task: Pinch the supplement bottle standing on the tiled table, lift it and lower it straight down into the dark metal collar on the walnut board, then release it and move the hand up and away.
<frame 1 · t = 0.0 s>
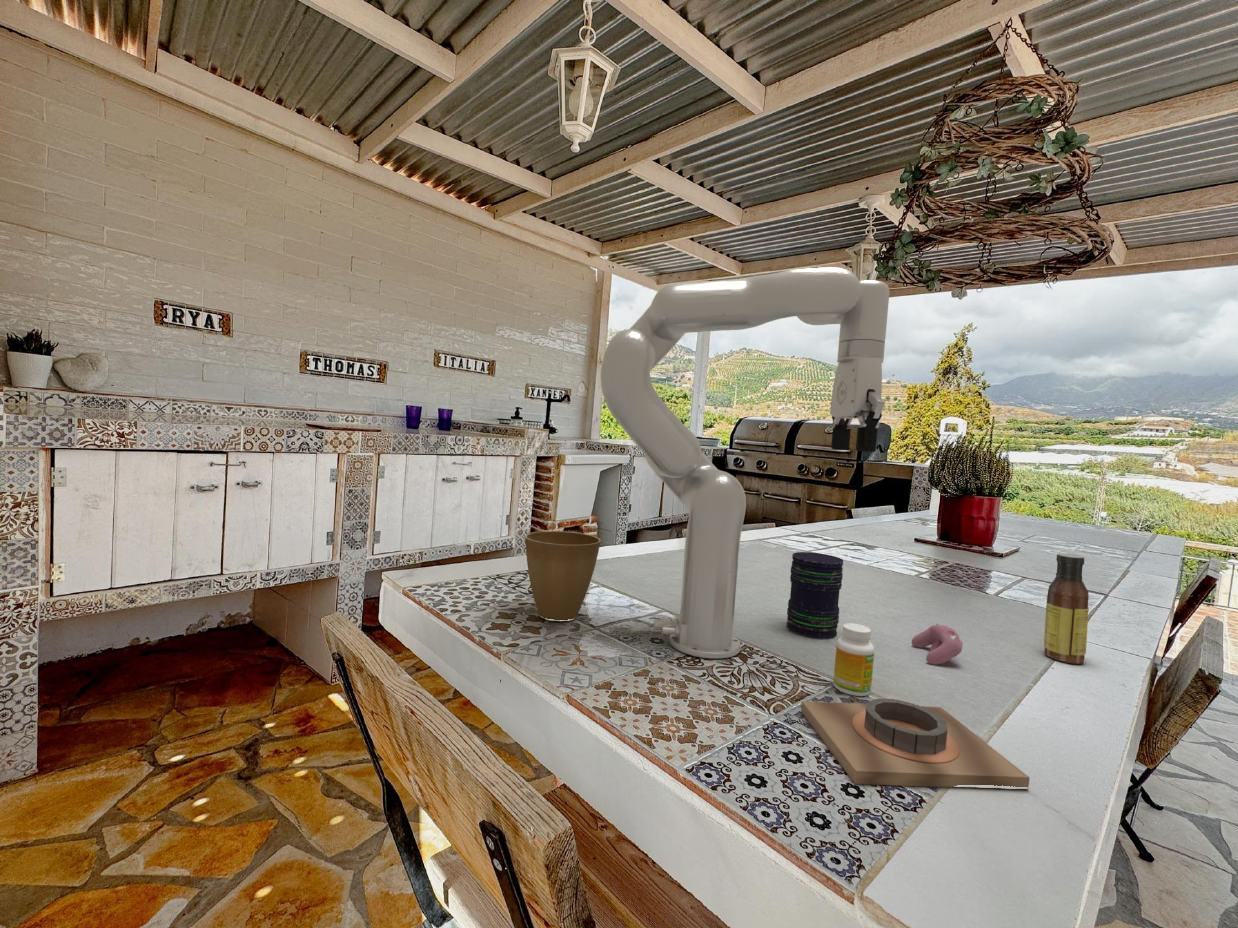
hand: (852, 450, 99), 37 cm above the table, tool pointing down, fingers open, 9 cm apart
plant pot: (558, 617, 111), on the table
supplement bottle: (851, 690, 86), on the table
socket board: (902, 746, 70), on the table
storage jar: (811, 631, 112), on the table
sauce bottle: (1062, 659, 105), on the table
video game controller: (935, 658, 102), on the table
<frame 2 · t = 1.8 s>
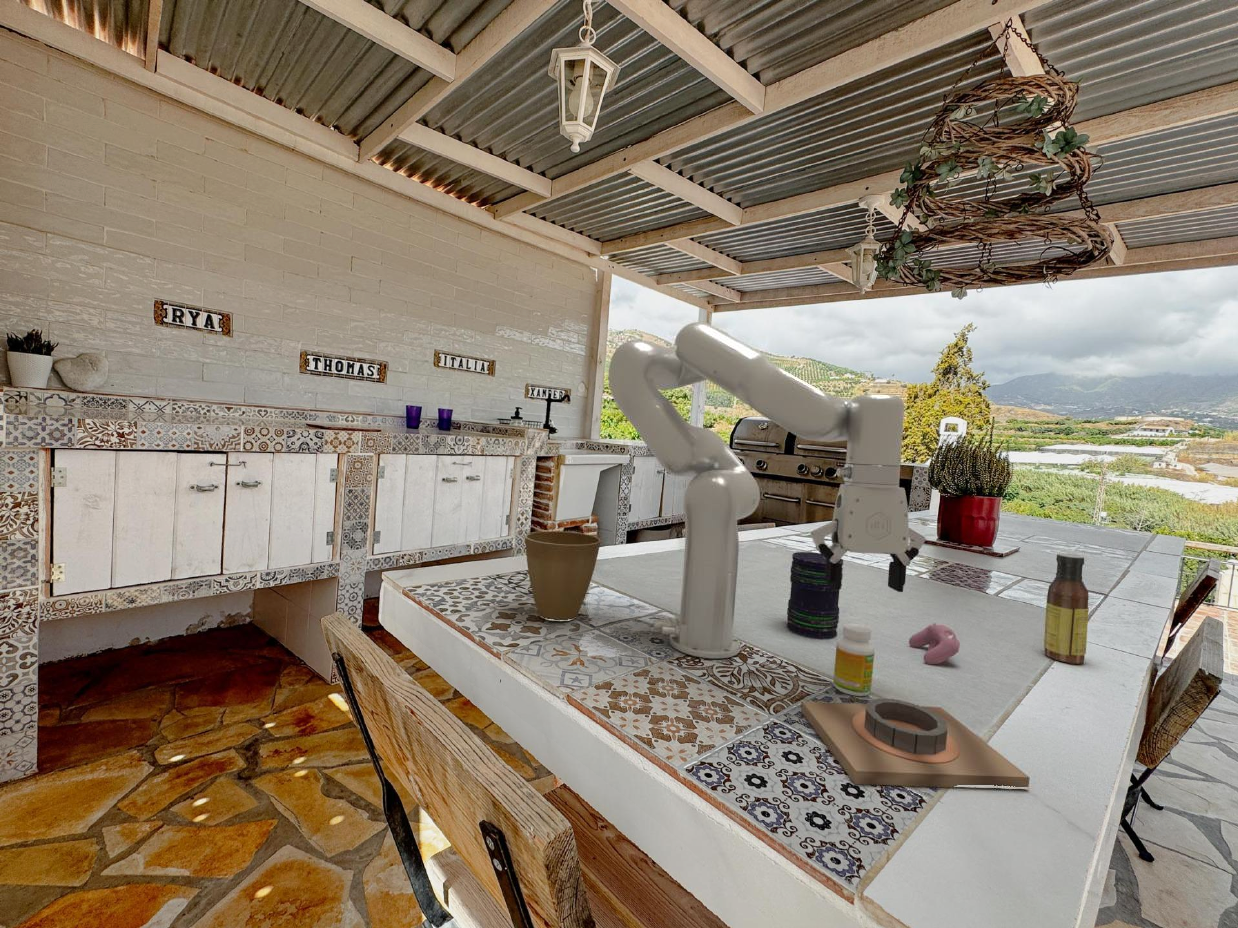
hand: (864, 588, 85), 16 cm above the table, tool pointing down, fingers open, 9 cm apart
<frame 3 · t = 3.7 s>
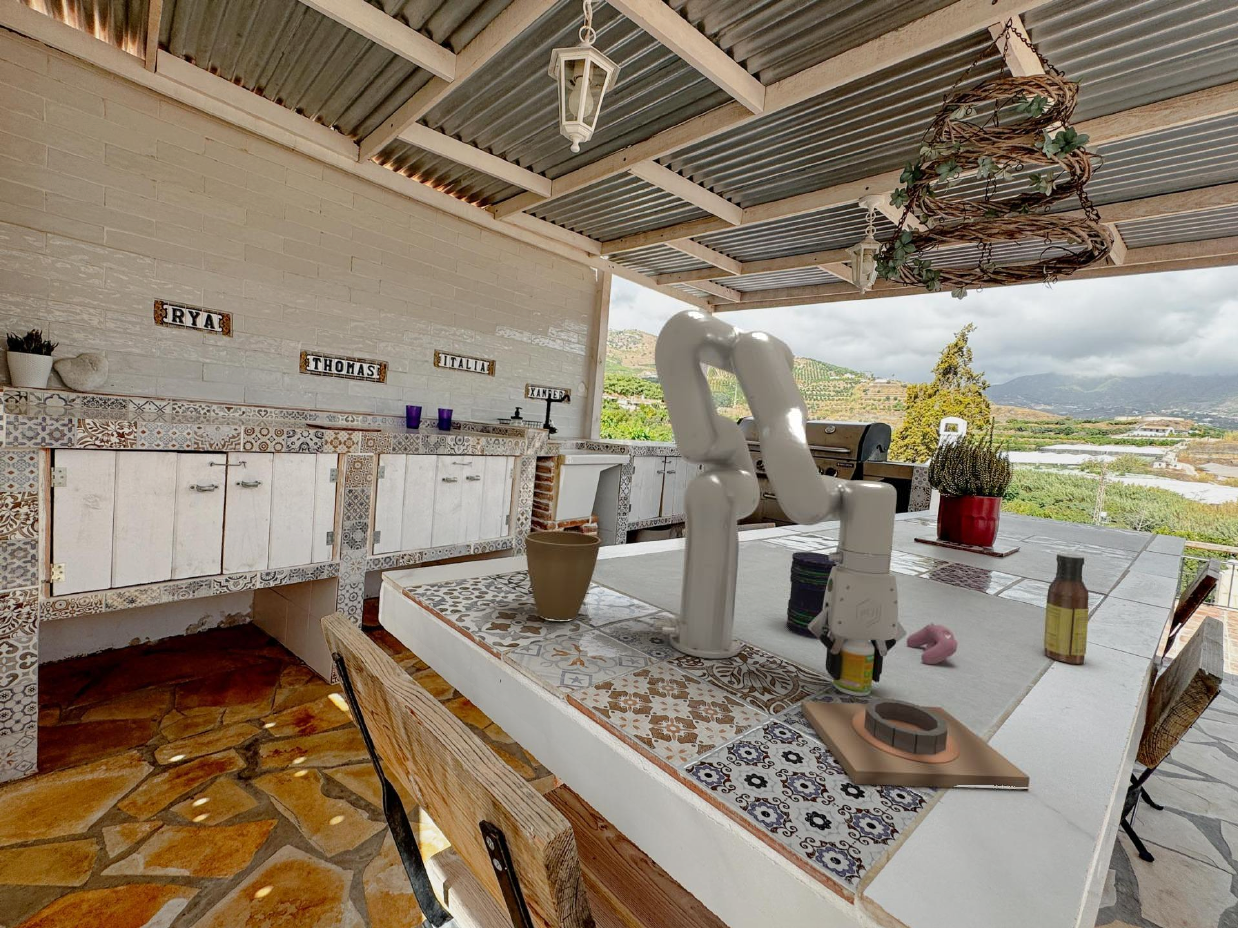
hand: (852, 676, 86), 2 cm above the table, tool pointing down, fingers closed on supplement bottle, 5 cm apart
supplement bottle: (851, 690, 86), on the table, touching gripper
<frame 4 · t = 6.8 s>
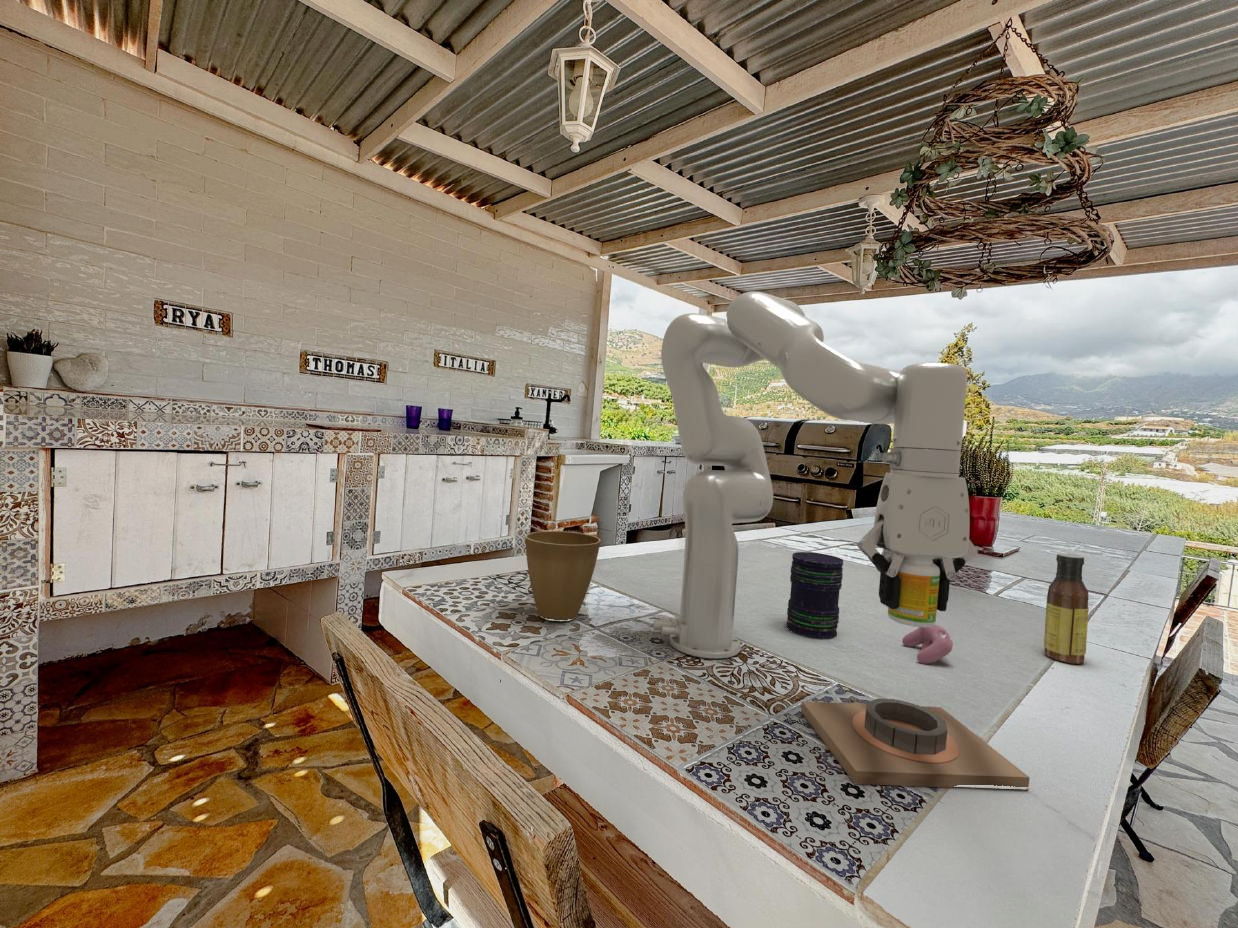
hand: (912, 605, 70), 18 cm above the table, tool pointing down, fingers closed on supplement bottle, 5 cm apart
supplement bottle: (910, 622, 70), point 16 cm above the table, touching gripper
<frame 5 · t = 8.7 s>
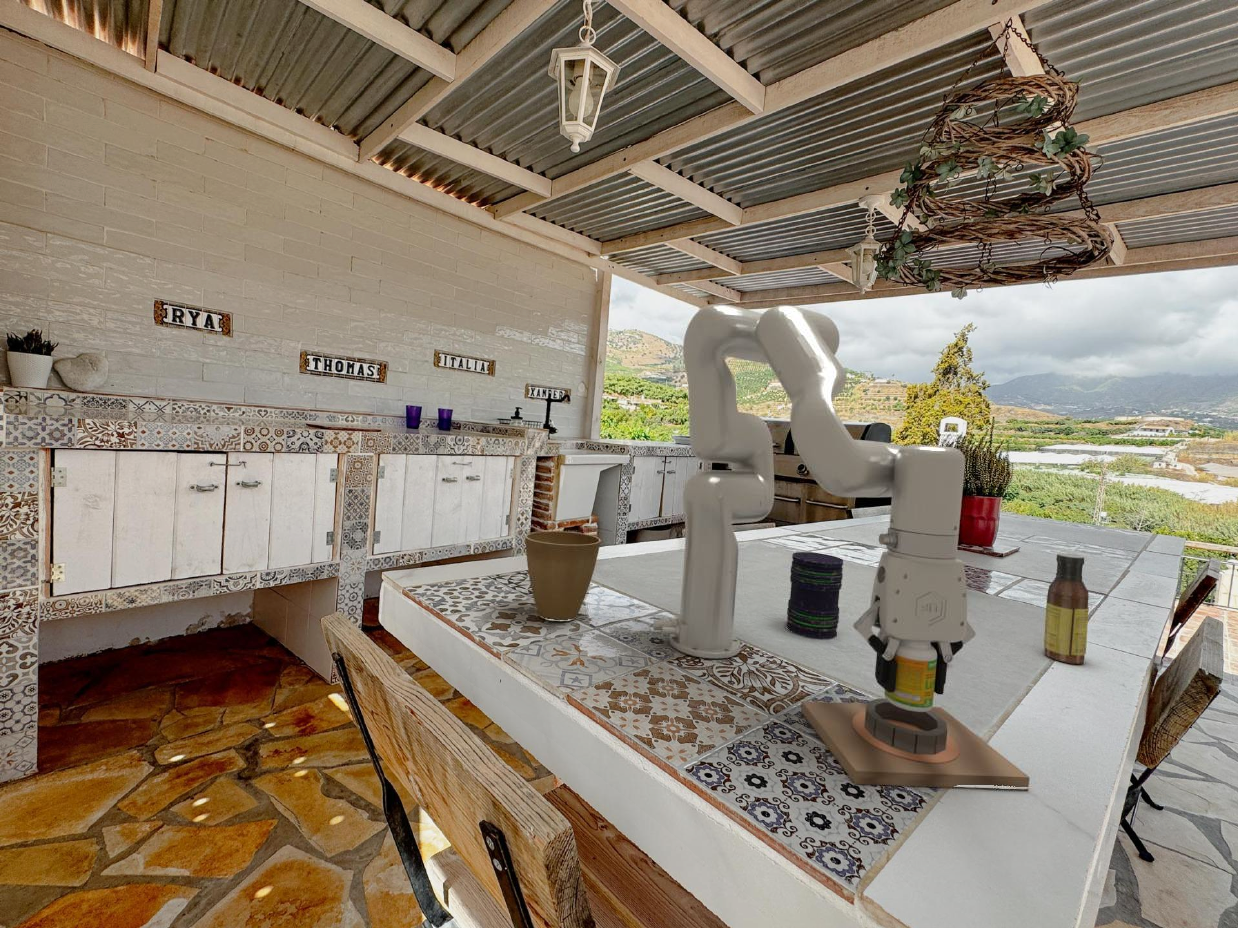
hand: (909, 686, 70), 8 cm above the table, tool pointing down, fingers closed on supplement bottle, 5 cm apart
supplement bottle: (907, 704, 70), point 6 cm above the table, touching gripper
when the fingers open (5 cm above the table, at t = 10.1 s): supplement bottle drops 1 cm, resting on socket board.
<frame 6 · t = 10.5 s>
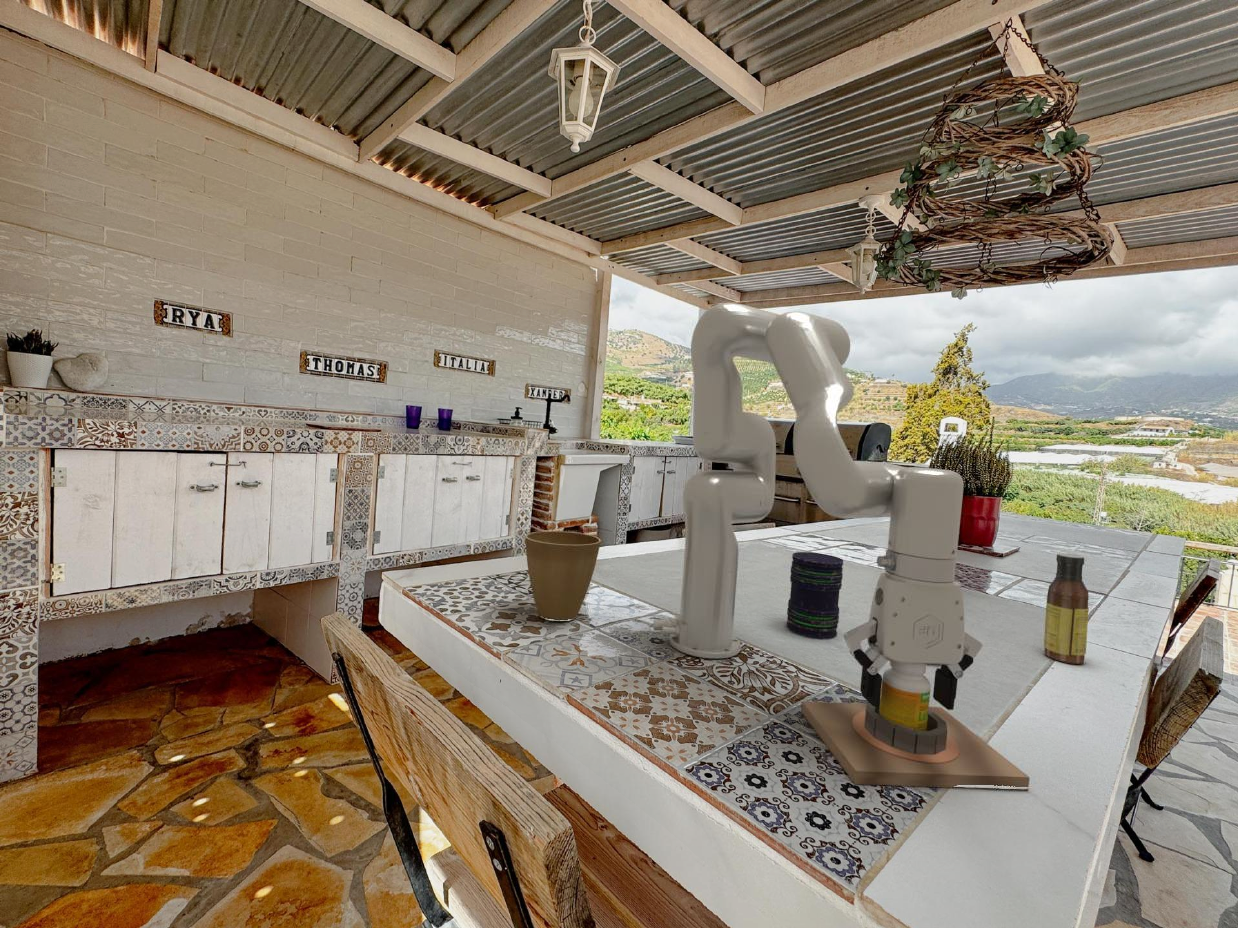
hand: (906, 702, 70), 6 cm above the table, tool pointing down, fingers open, 9 cm apart
supplement bottle: (901, 734, 70), point 2 cm above the table, touching socket board
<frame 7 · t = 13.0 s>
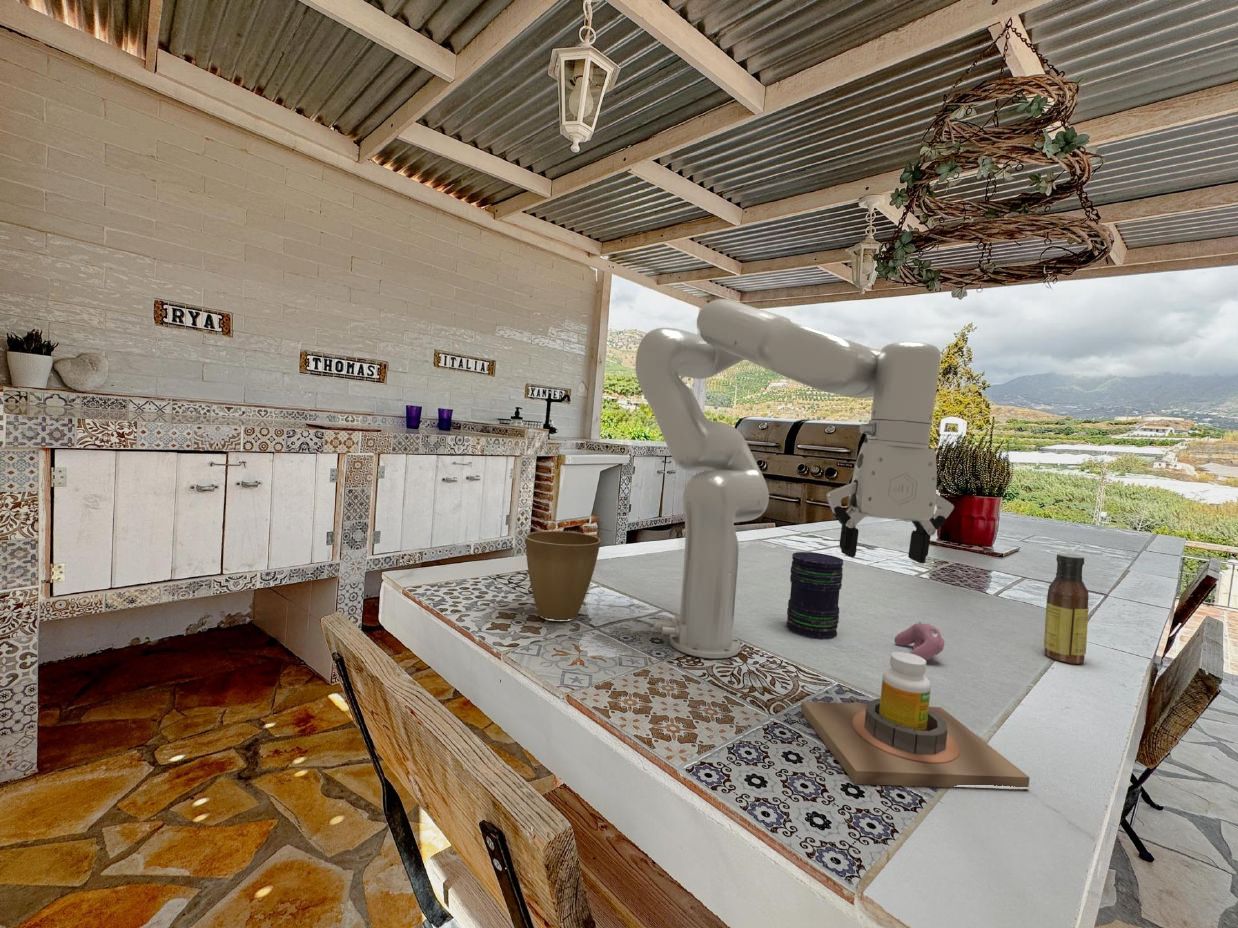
hand: (882, 557, 77), 22 cm above the table, tool pointing down, fingers open, 9 cm apart
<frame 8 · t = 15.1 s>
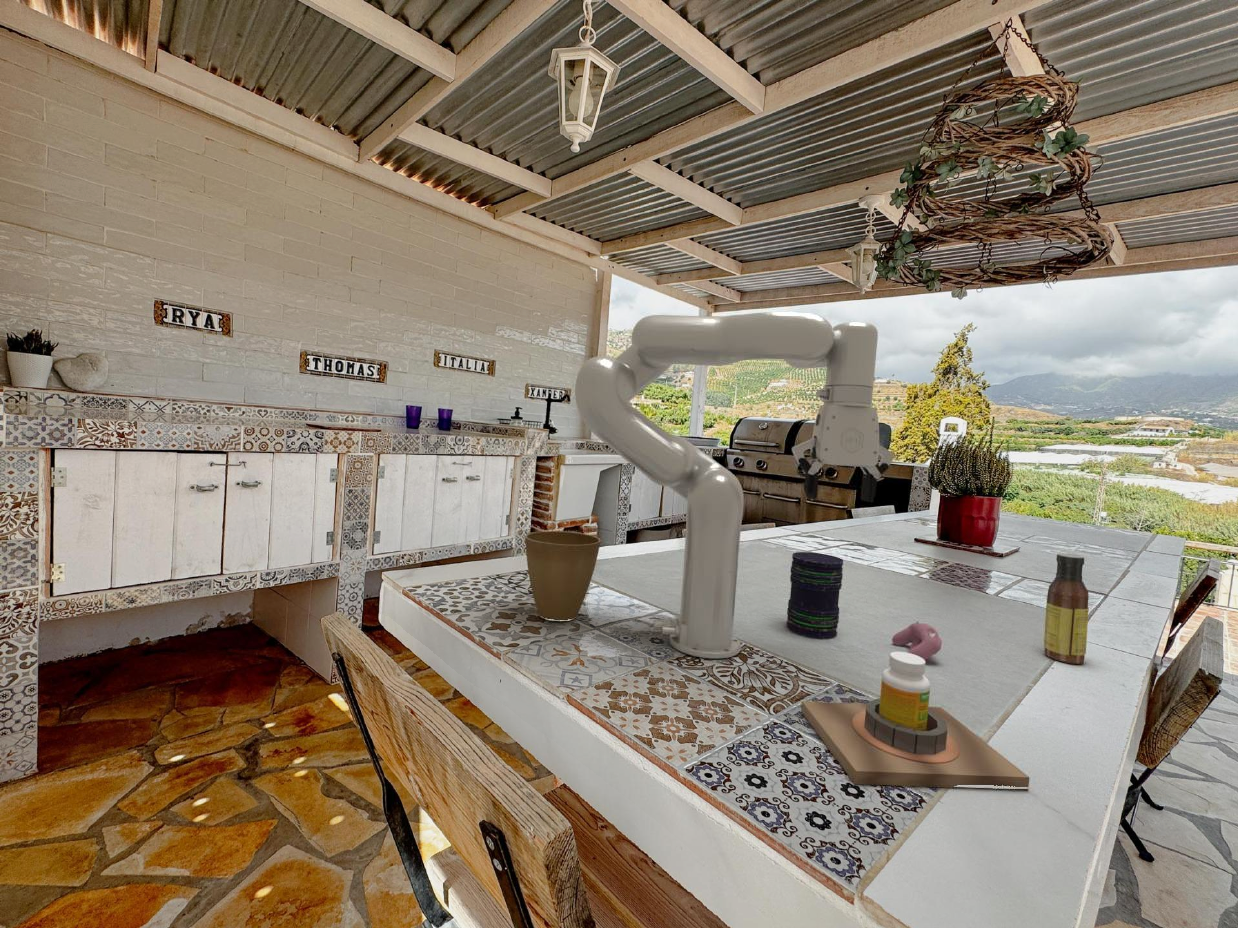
hand: (839, 499, 95), 28 cm above the table, tool pointing down, fingers open, 9 cm apart
at the end: supplement bottle 0.3 cm off-centre on the socket board, point 1.5 cm above the socket board's base; supplement bottle tilted 1°; the gripper is holding nothing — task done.
